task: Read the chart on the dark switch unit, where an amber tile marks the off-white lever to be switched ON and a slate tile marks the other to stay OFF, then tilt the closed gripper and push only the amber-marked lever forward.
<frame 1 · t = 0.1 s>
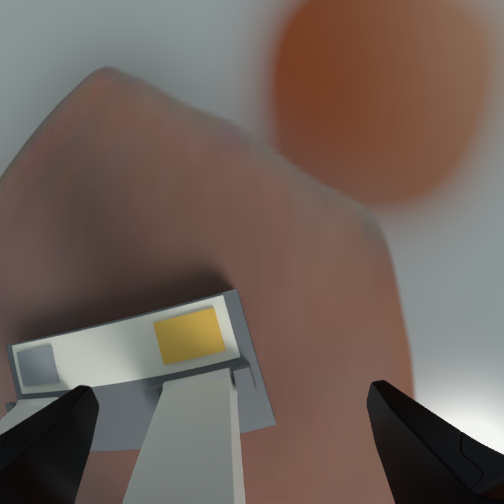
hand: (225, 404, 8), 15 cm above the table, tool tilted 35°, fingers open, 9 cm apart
lever slate: (10, 442, 12), point 9 cm above the table, hinge at -20.0°
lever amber: (193, 435, 13), point 9 cm above the table, hinge at -20.0°
switch unit: (131, 395, 22), on the table
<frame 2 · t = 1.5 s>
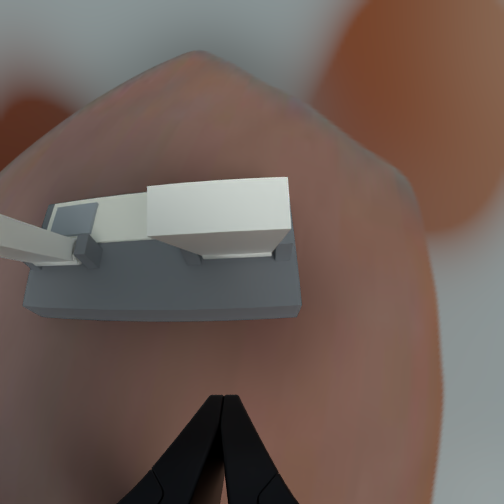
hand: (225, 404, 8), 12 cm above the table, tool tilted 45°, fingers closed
lever slate: (15, 242, 15), point 9 cm above the table, hinge at -20.0°
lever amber: (230, 232, 15), point 9 cm above the table, hinge at -23.3°
switch unit: (154, 273, 24), on the table
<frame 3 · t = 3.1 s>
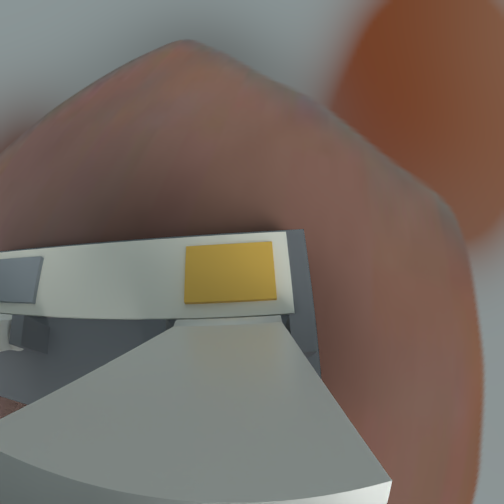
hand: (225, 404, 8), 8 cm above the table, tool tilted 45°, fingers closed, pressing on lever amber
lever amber: (214, 377, 8), point 9 cm above the table, hinge at -21.0°, touching gripper
switch unit: (121, 353, 17), on the table
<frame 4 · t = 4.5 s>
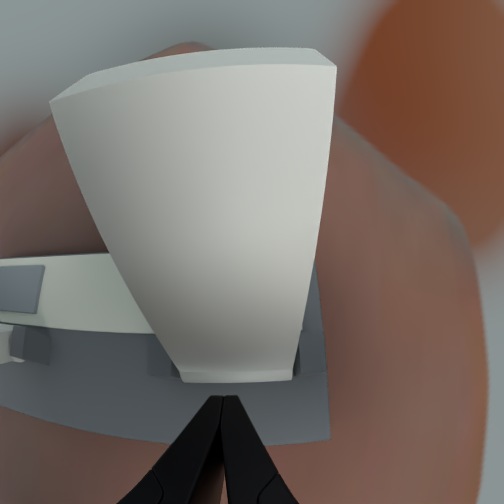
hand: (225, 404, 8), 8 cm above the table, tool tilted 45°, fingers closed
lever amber: (222, 288, 9), point 9 cm above the table, hinge at 16.3°
switch unit: (124, 365, 16), on the table
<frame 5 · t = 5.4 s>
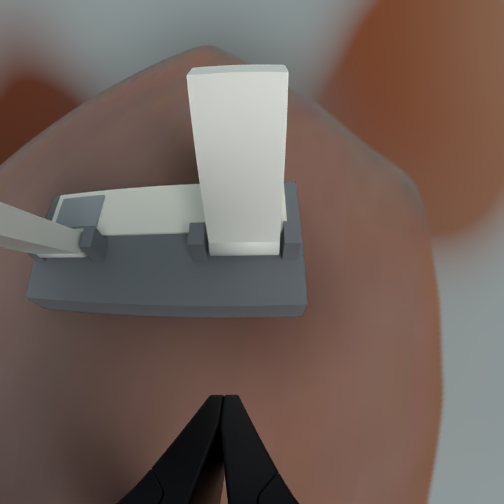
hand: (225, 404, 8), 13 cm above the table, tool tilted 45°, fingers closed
lever slate: (21, 233, 15), point 9 cm above the table, hinge at -20.0°
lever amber: (241, 175, 16), point 9 cm above the table, hinge at 16.4°
switch unit: (159, 268, 24), on the table
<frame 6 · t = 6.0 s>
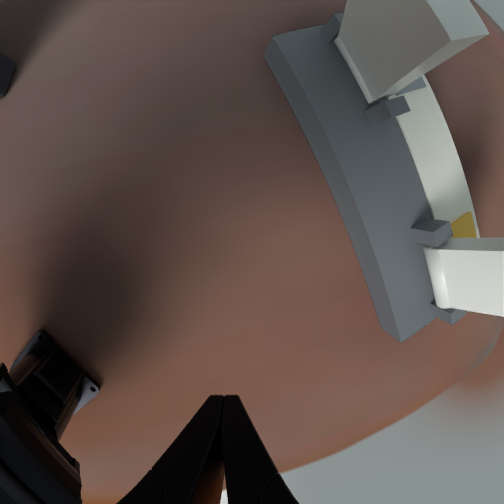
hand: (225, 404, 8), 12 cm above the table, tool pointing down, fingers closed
lever slate: (385, 37, 10), point 9 cm above the table, hinge at -20.0°
switch unit: (378, 176, 20), on the table
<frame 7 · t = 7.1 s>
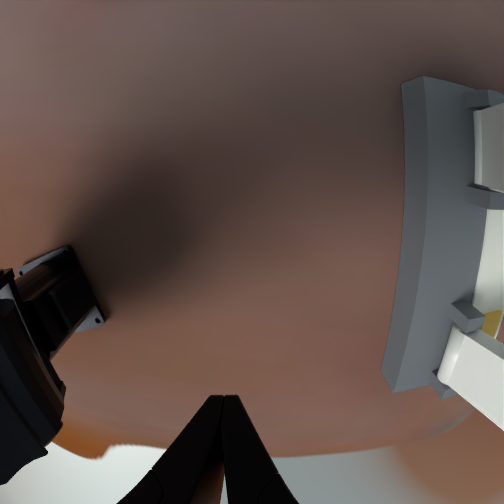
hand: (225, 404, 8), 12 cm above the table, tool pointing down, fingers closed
switch unit: (445, 242, 20), on the table
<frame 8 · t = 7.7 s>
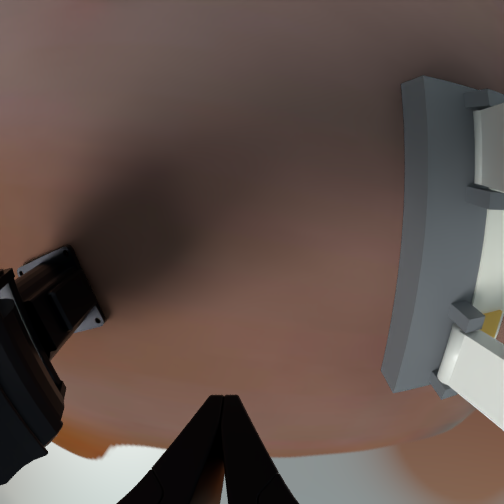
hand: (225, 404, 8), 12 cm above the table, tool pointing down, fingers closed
switch unit: (445, 242, 20), on the table
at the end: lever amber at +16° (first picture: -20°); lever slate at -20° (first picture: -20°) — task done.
